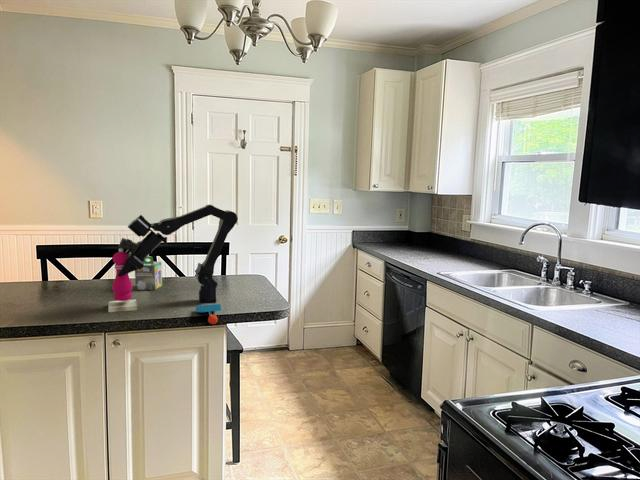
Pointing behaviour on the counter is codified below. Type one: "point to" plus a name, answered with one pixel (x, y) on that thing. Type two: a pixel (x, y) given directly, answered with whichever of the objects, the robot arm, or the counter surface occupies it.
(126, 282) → the pepper mill
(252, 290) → the counter surface
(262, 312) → the counter surface
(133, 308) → the plinth
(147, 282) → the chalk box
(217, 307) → the lever
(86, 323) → the counter surface
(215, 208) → the robot arm
